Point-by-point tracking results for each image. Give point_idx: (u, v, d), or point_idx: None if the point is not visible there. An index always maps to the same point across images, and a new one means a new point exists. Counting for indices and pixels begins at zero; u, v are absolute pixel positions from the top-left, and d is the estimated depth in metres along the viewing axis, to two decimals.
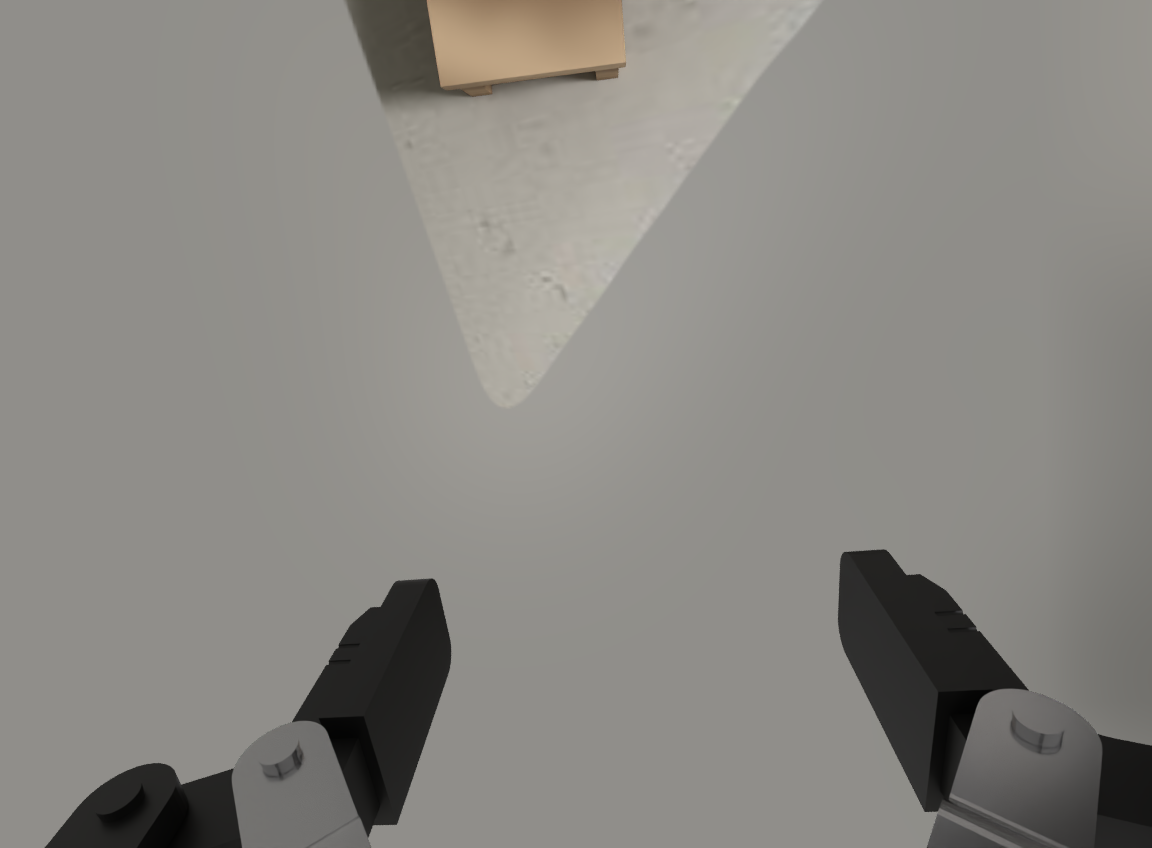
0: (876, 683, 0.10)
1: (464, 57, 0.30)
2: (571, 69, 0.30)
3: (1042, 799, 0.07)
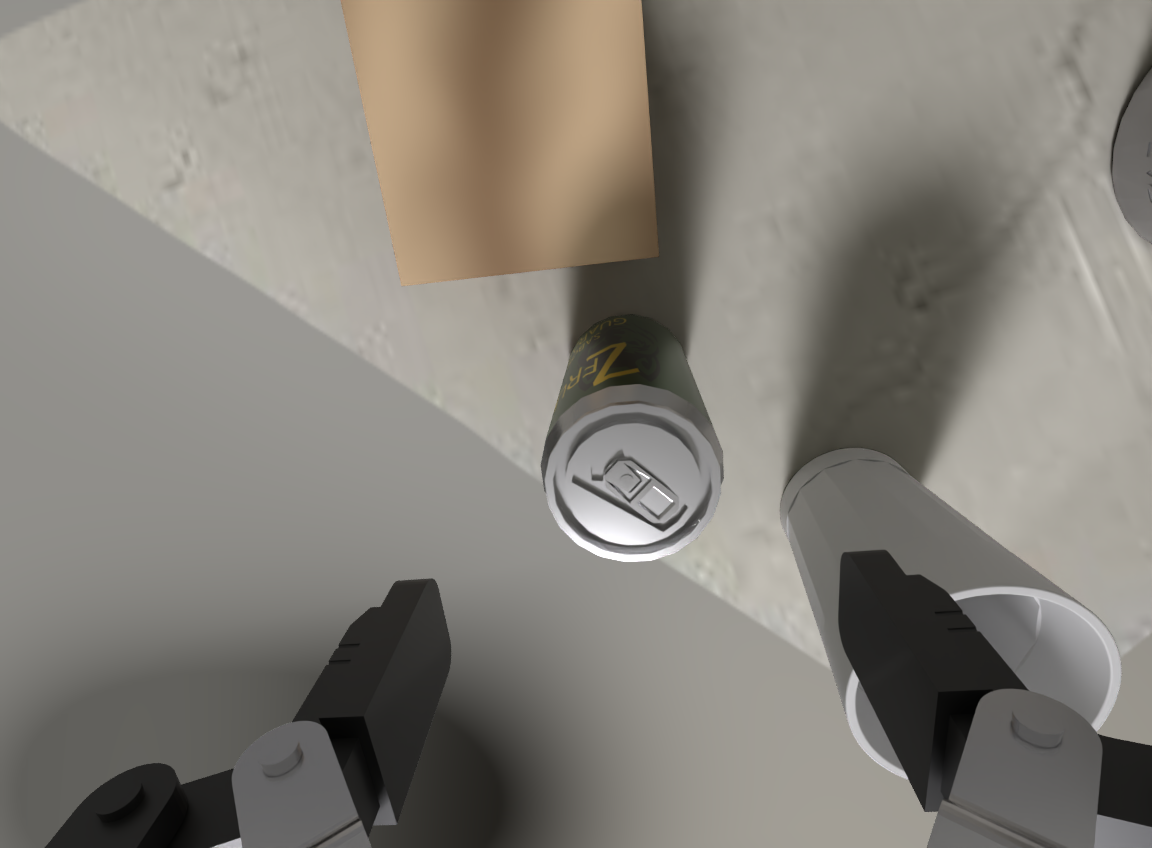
0: (876, 683, 0.10)
1: (382, 31, 0.19)
2: (386, 208, 0.21)
3: (1042, 799, 0.07)
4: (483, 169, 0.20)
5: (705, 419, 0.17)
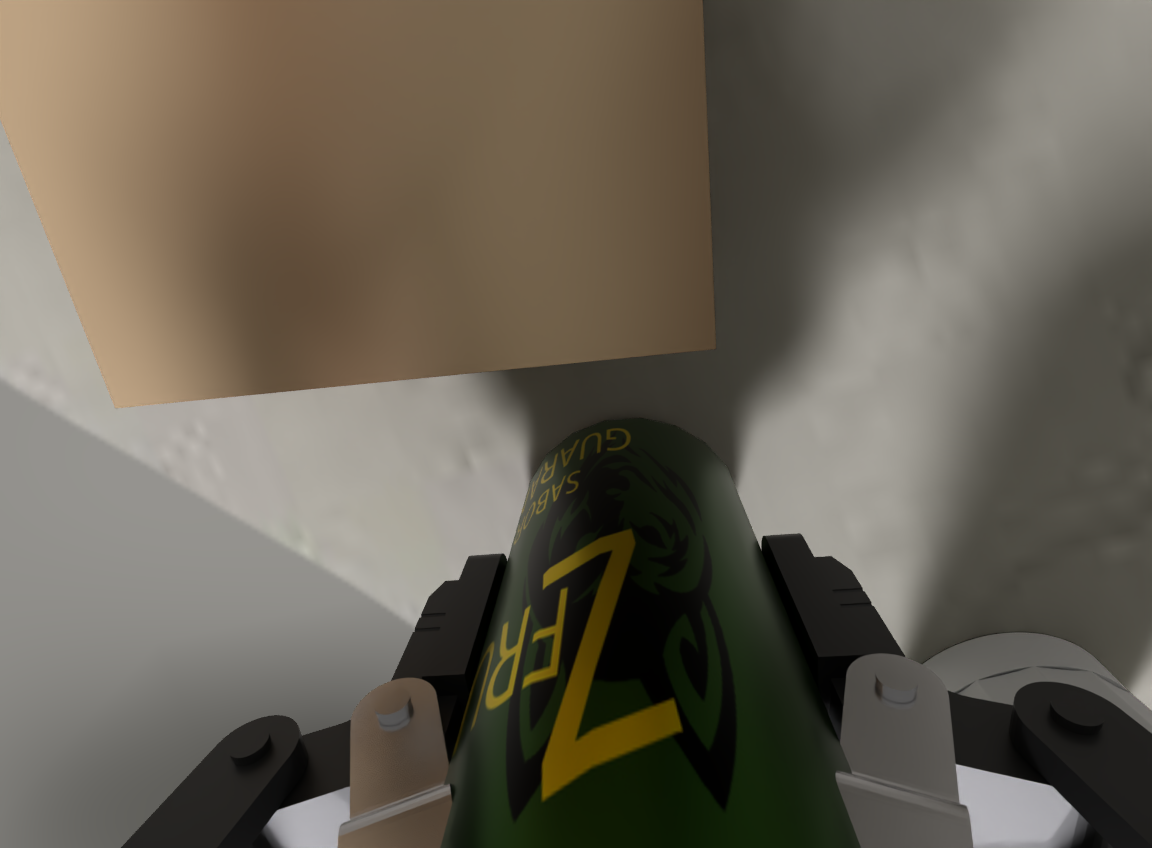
0: None
1: None
2: (50, 230, 0.09)
3: (911, 752, 0.07)
4: (270, 134, 0.08)
5: None
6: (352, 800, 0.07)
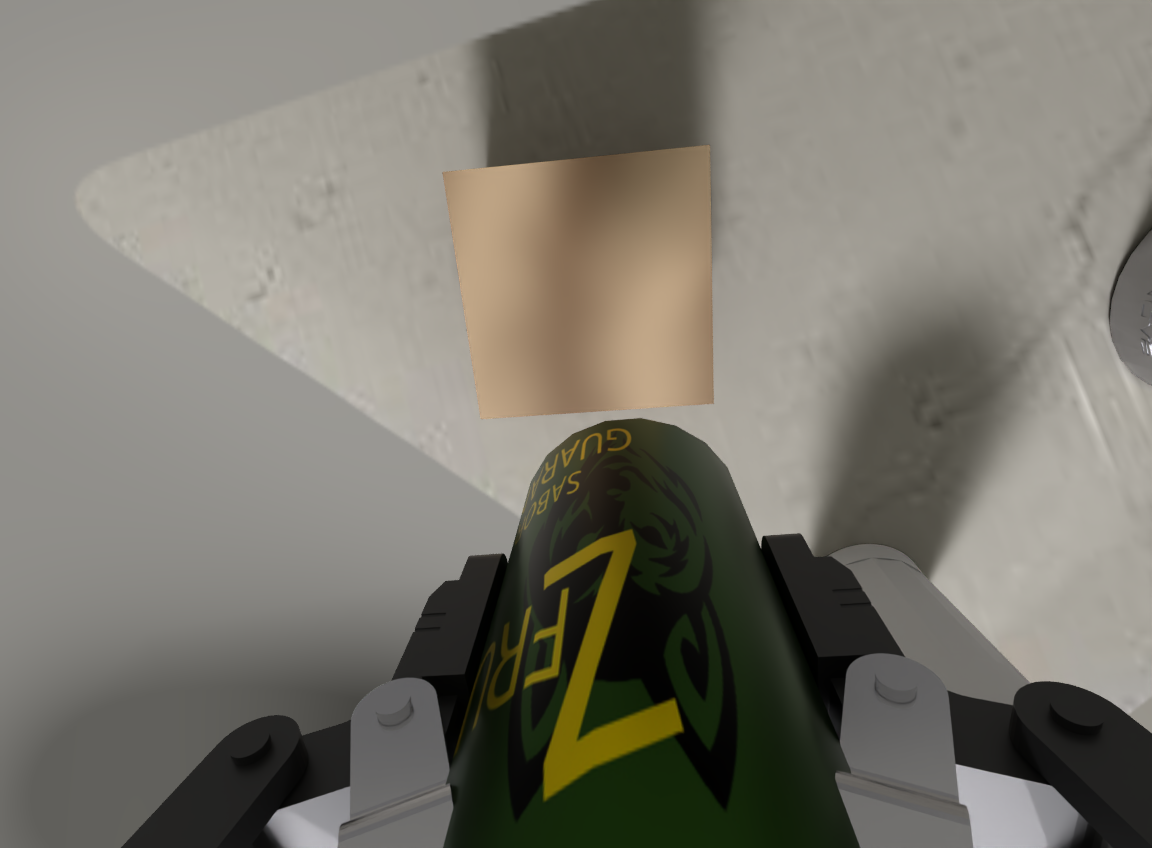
0: None
1: (480, 211, 0.21)
2: (471, 354, 0.23)
3: (910, 752, 0.07)
4: (561, 326, 0.23)
5: None
6: (352, 800, 0.07)
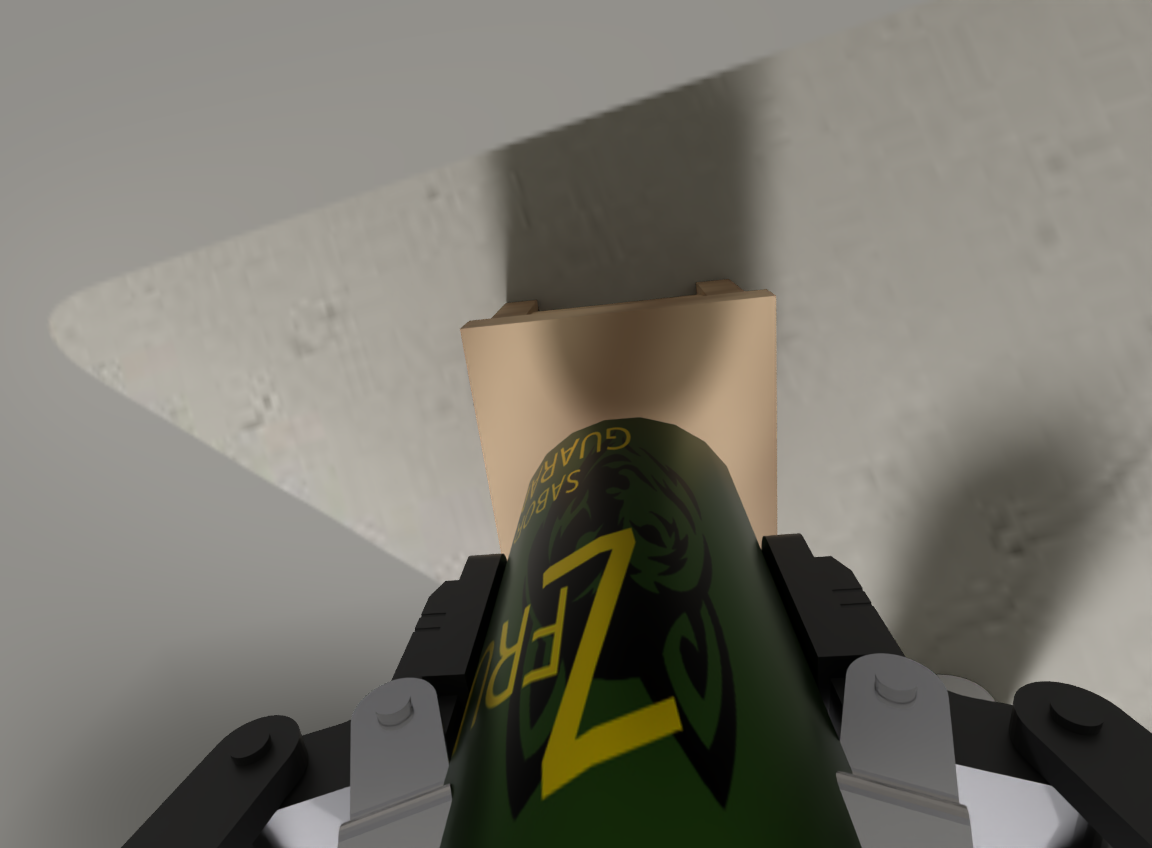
0: None
1: (504, 370, 0.18)
2: (496, 520, 0.20)
3: (911, 752, 0.07)
4: None
5: None
6: (352, 800, 0.07)
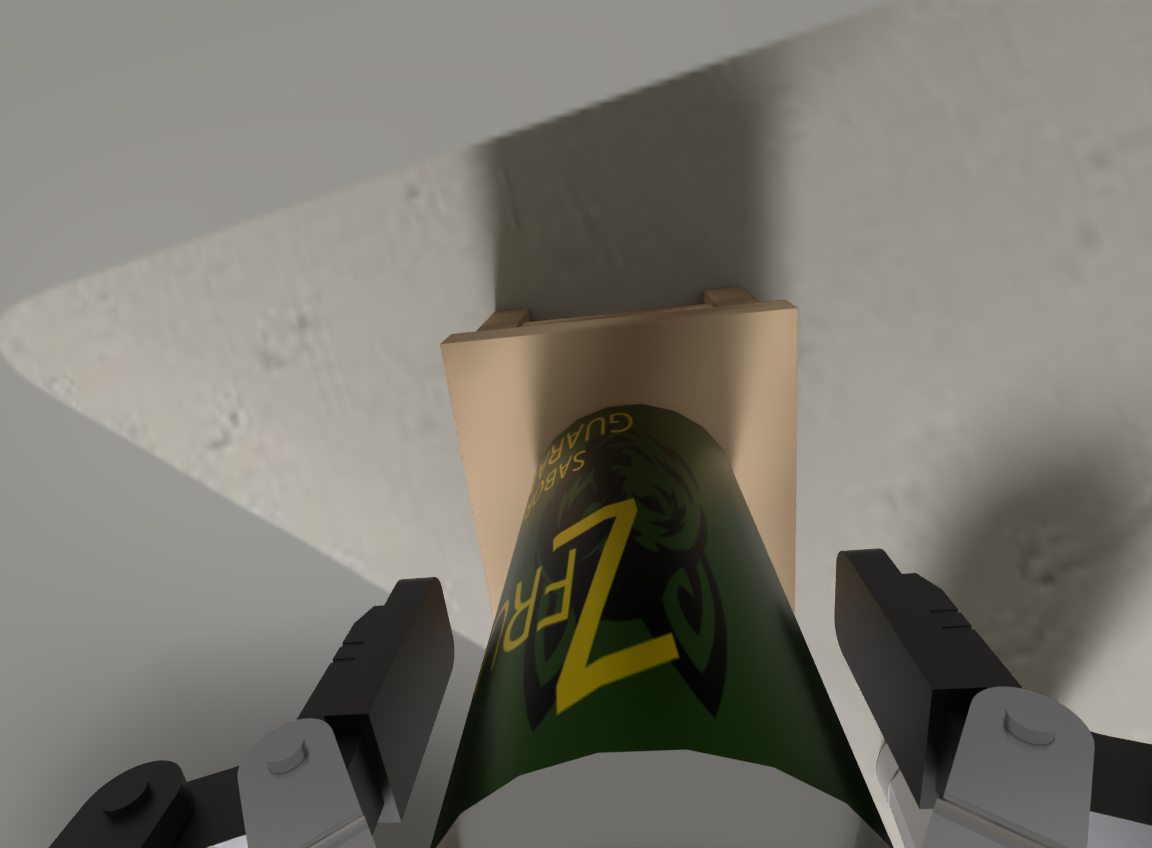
0: (872, 681, 0.10)
1: (490, 391, 0.16)
2: (482, 555, 0.18)
3: (1035, 796, 0.07)
4: None
5: (876, 837, 0.06)
6: None
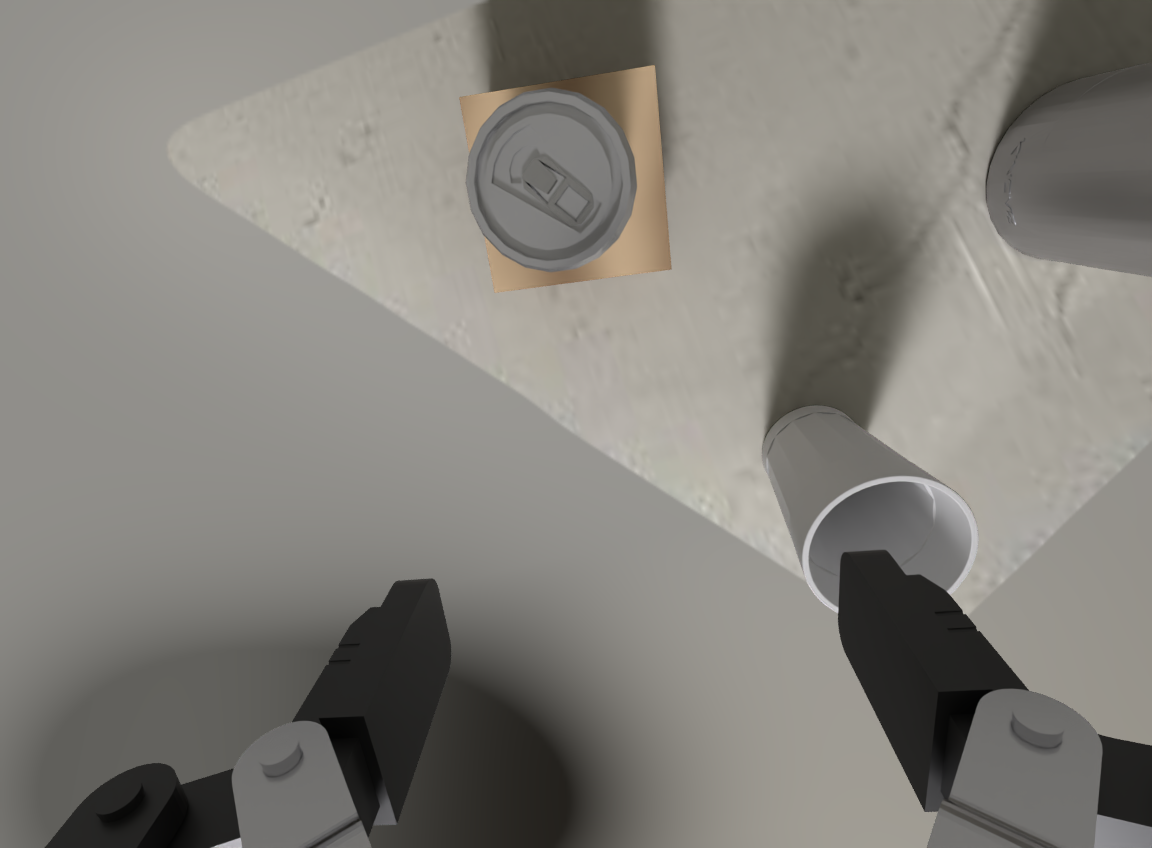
0: (876, 683, 0.10)
1: None
2: (485, 240, 0.31)
3: (1042, 800, 0.07)
4: None
5: (615, 122, 0.19)
6: None
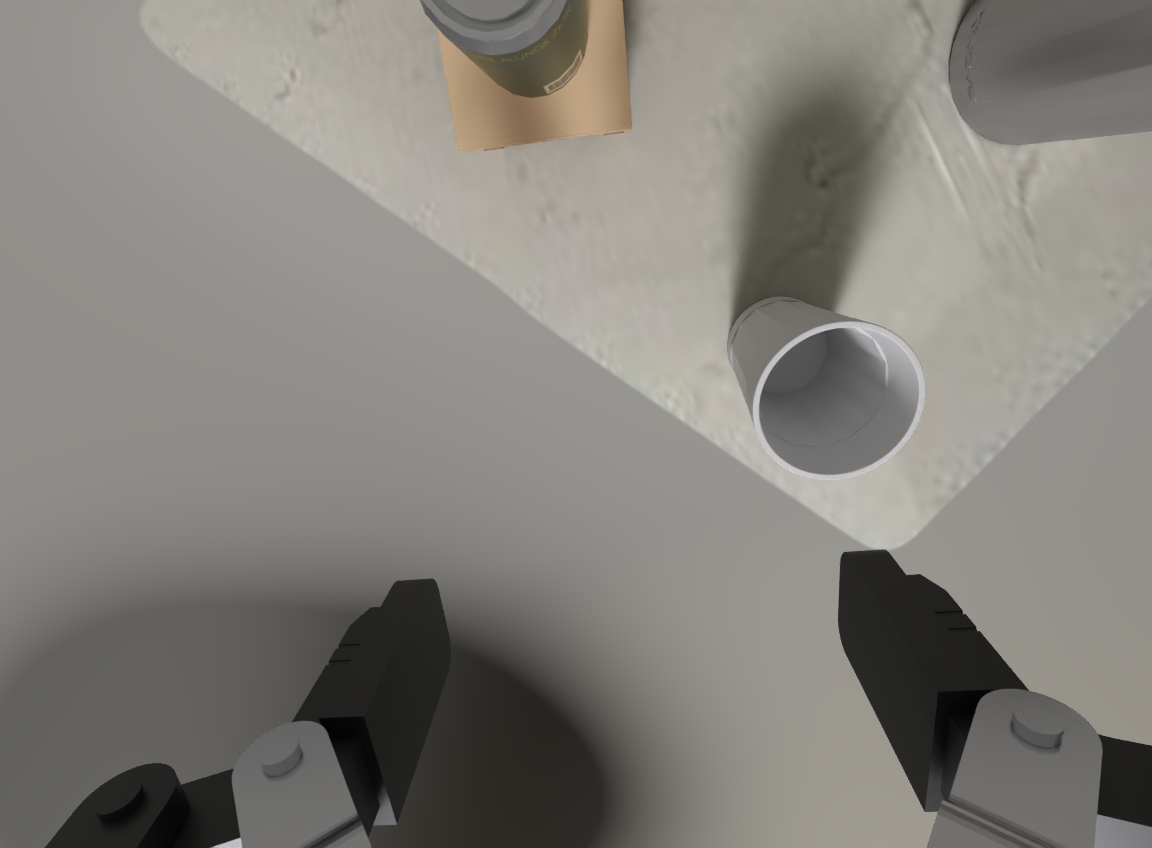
0: (876, 683, 0.10)
1: None
2: (448, 94, 0.31)
3: (1042, 799, 0.07)
4: None
5: None
6: None
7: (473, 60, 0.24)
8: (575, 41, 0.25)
